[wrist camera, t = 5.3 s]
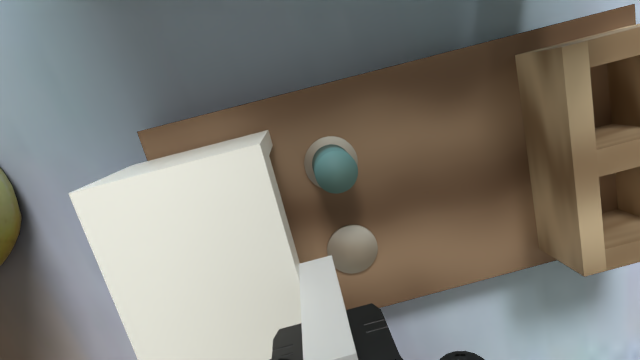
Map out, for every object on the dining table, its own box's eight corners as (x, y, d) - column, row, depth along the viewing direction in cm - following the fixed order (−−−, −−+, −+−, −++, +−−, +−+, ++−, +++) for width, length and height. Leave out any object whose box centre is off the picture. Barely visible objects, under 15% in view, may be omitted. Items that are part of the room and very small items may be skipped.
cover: (131, 165, 19) (68, 193, 14) (268, 129, 19) (259, 143, 14) (195, 336, 21) (162, 419, 16) (317, 304, 22) (326, 374, 16)
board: (151, 128, 21) (104, 139, 16) (603, 12, 22) (706, -16, 16) (222, 330, 24) (202, 398, 19) (619, 224, 25) (710, 260, 19)
